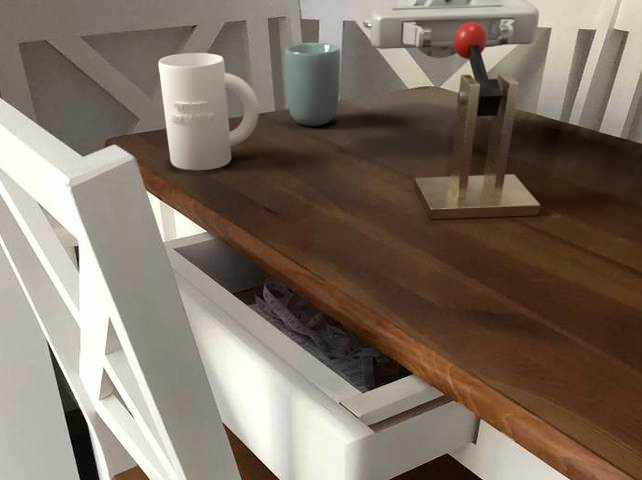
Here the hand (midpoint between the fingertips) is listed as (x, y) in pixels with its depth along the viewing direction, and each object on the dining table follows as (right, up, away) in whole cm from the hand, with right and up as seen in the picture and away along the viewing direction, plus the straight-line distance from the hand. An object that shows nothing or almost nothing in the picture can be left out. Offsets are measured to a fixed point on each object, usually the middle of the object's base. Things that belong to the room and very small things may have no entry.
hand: (466, 37), depth 84 cm
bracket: (+1, -19, 0) cm, 19 cm away
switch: (0, -7, -3) cm, 7 cm away
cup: (-17, +2, +26) cm, 31 cm away
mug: (-30, -9, +13) cm, 34 cm away
